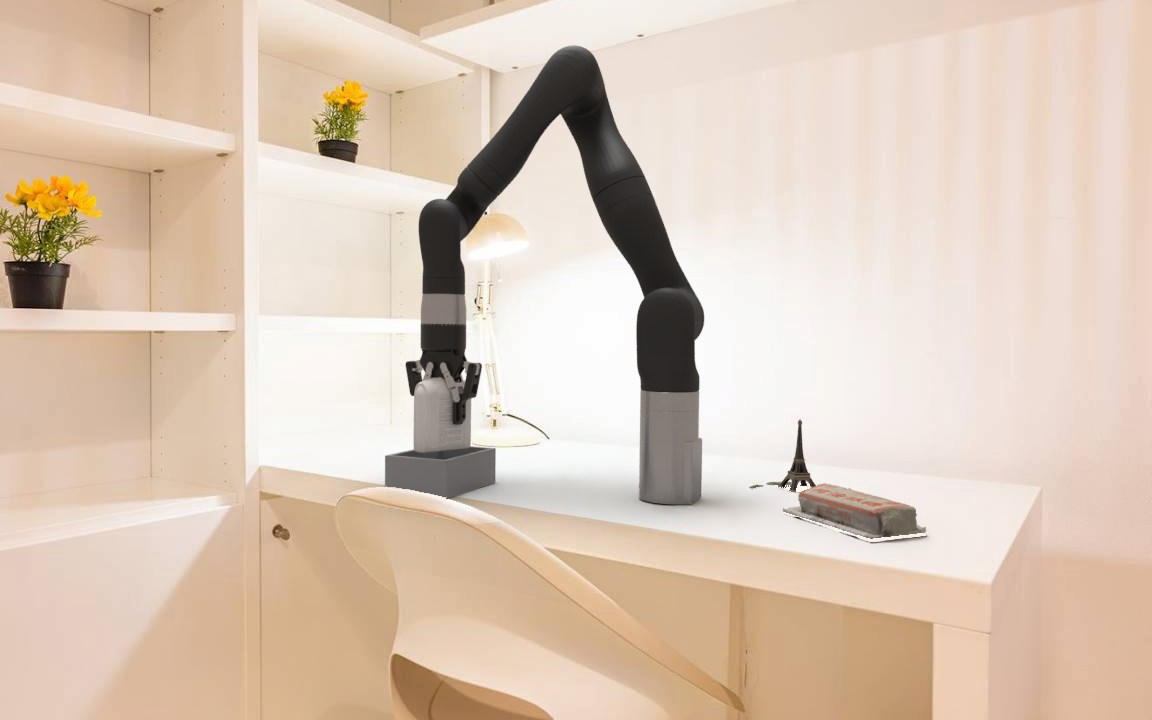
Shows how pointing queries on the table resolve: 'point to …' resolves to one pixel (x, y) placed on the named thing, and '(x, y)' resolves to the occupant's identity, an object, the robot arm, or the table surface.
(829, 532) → the table surface
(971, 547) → the table surface
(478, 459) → the crate
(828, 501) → the packaged product
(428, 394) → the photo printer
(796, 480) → the eiffel tower figurine
